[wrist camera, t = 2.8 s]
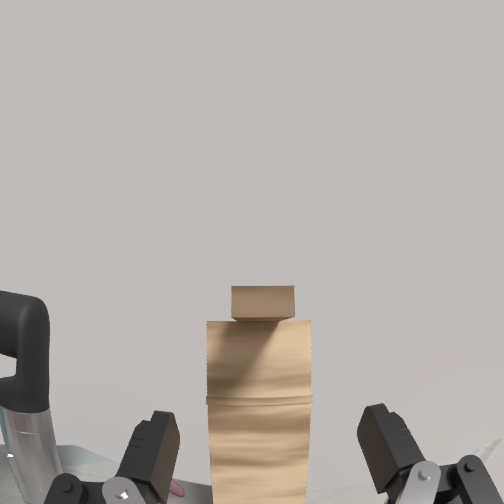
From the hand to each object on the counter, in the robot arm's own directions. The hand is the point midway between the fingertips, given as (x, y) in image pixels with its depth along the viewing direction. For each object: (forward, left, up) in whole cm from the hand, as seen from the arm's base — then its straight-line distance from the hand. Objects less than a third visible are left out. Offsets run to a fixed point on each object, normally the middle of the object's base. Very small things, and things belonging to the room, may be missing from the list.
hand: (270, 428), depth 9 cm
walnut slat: (+13, +11, +5) cm, 18 cm away
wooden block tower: (+16, +13, -27) cm, 34 cm away
